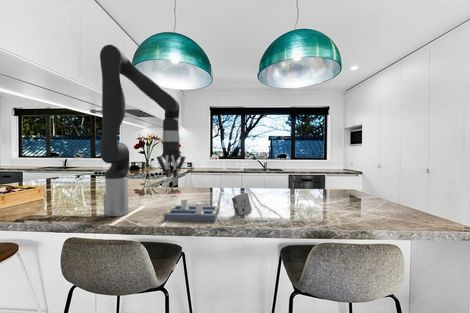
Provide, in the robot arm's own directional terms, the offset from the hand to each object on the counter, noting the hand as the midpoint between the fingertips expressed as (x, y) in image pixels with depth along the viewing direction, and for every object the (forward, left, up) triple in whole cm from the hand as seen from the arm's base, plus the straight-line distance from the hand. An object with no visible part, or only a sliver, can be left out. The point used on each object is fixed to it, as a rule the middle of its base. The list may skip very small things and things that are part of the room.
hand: (171, 177), depth 108 cm
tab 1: (+6, 0, -16) cm, 17 cm away
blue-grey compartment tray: (+11, -3, -17) cm, 21 cm away
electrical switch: (+33, +3, -17) cm, 37 cm away
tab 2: (+14, -6, -16) cm, 22 cm away
